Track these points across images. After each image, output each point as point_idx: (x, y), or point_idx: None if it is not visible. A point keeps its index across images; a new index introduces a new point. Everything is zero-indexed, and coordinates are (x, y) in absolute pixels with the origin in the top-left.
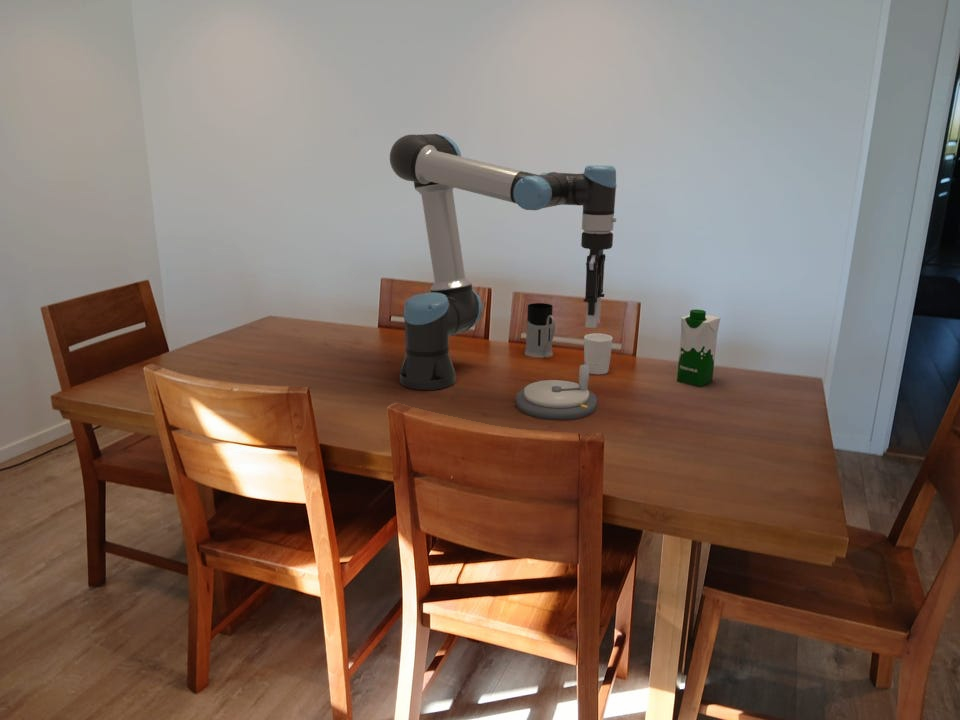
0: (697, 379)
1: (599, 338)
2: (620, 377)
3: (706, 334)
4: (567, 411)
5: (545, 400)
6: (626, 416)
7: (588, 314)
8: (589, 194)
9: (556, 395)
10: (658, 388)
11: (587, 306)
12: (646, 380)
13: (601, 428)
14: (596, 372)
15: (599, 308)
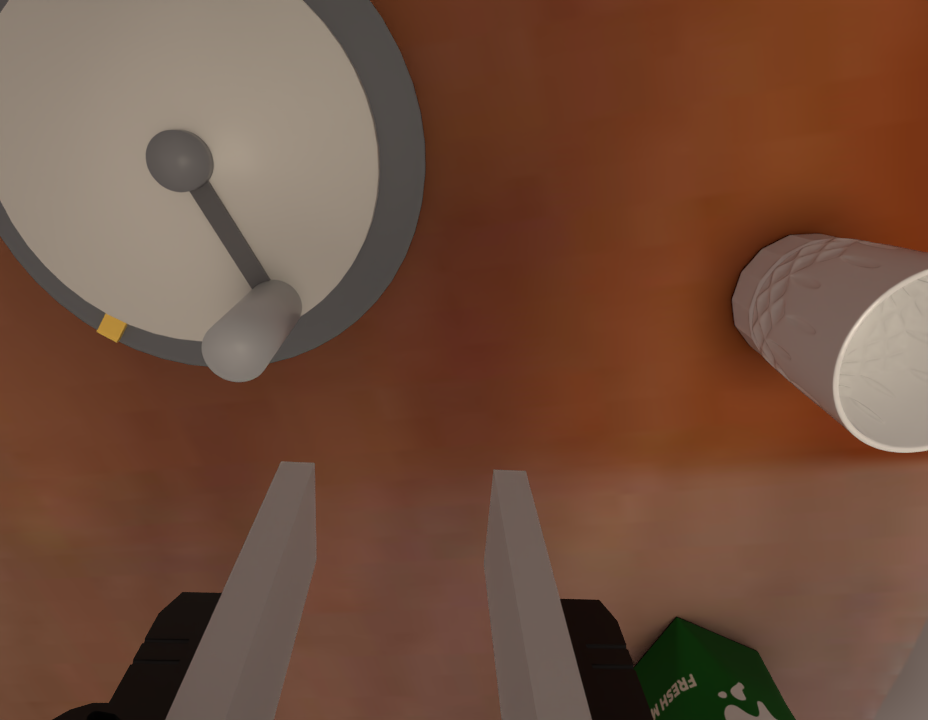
0: None
1: None
2: (699, 413)
3: None
4: (13, 250)
5: None
6: (199, 475)
7: (175, 606)
8: None
9: (103, 173)
10: (574, 561)
11: (193, 670)
12: (671, 515)
13: (16, 398)
14: (735, 304)
15: (501, 697)
